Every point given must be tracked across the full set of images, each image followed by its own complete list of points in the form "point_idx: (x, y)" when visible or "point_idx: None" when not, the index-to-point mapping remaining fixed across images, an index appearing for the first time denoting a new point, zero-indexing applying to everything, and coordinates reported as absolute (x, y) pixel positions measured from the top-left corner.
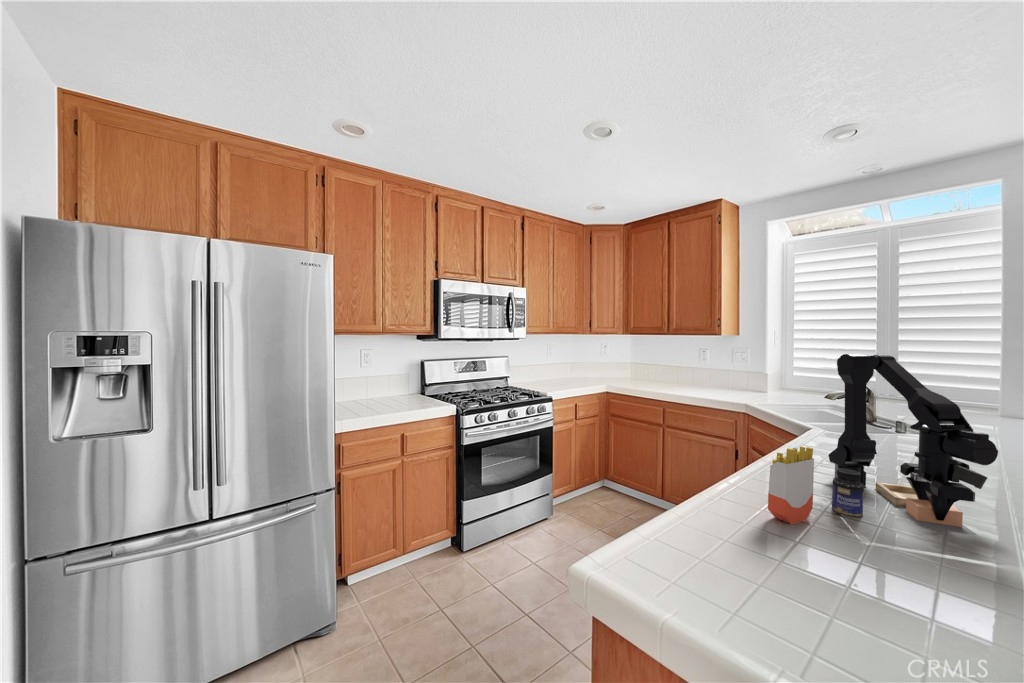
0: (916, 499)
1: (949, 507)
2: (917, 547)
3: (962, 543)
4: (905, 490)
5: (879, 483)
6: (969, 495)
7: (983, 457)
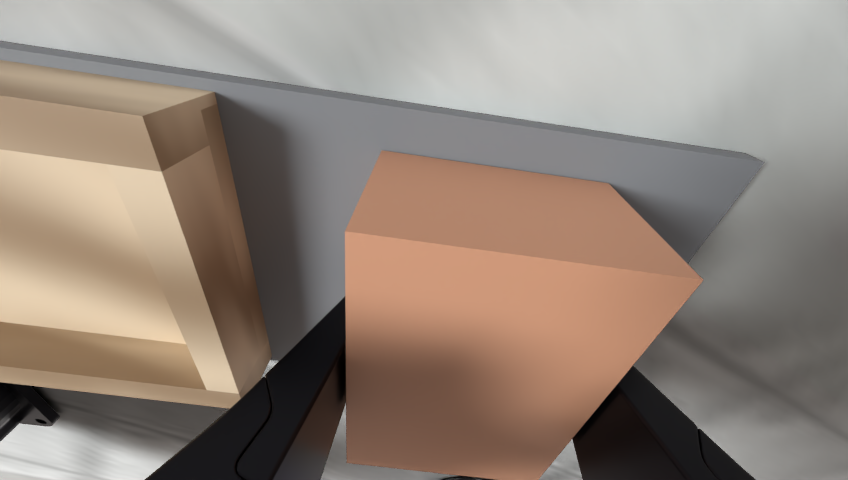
0: (359, 433)
1: (723, 461)
2: (759, 462)
3: (790, 311)
4: None
5: None
6: None
7: None
